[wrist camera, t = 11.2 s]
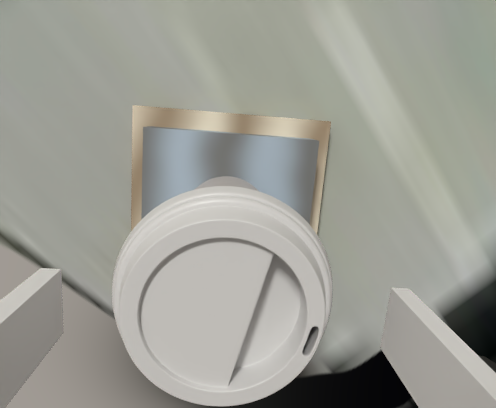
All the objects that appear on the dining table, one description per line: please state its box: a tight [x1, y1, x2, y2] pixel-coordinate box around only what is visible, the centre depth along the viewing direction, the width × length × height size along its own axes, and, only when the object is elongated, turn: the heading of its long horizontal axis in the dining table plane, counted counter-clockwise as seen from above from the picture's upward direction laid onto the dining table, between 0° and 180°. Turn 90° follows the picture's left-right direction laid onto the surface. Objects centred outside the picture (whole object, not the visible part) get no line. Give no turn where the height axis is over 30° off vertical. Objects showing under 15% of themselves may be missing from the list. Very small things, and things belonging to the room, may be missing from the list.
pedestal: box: [131, 105, 331, 234], centre depth 31 cm, size 16×16×4 cm
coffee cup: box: [112, 176, 333, 406], centre depth 22 cm, size 10×10×15 cm
